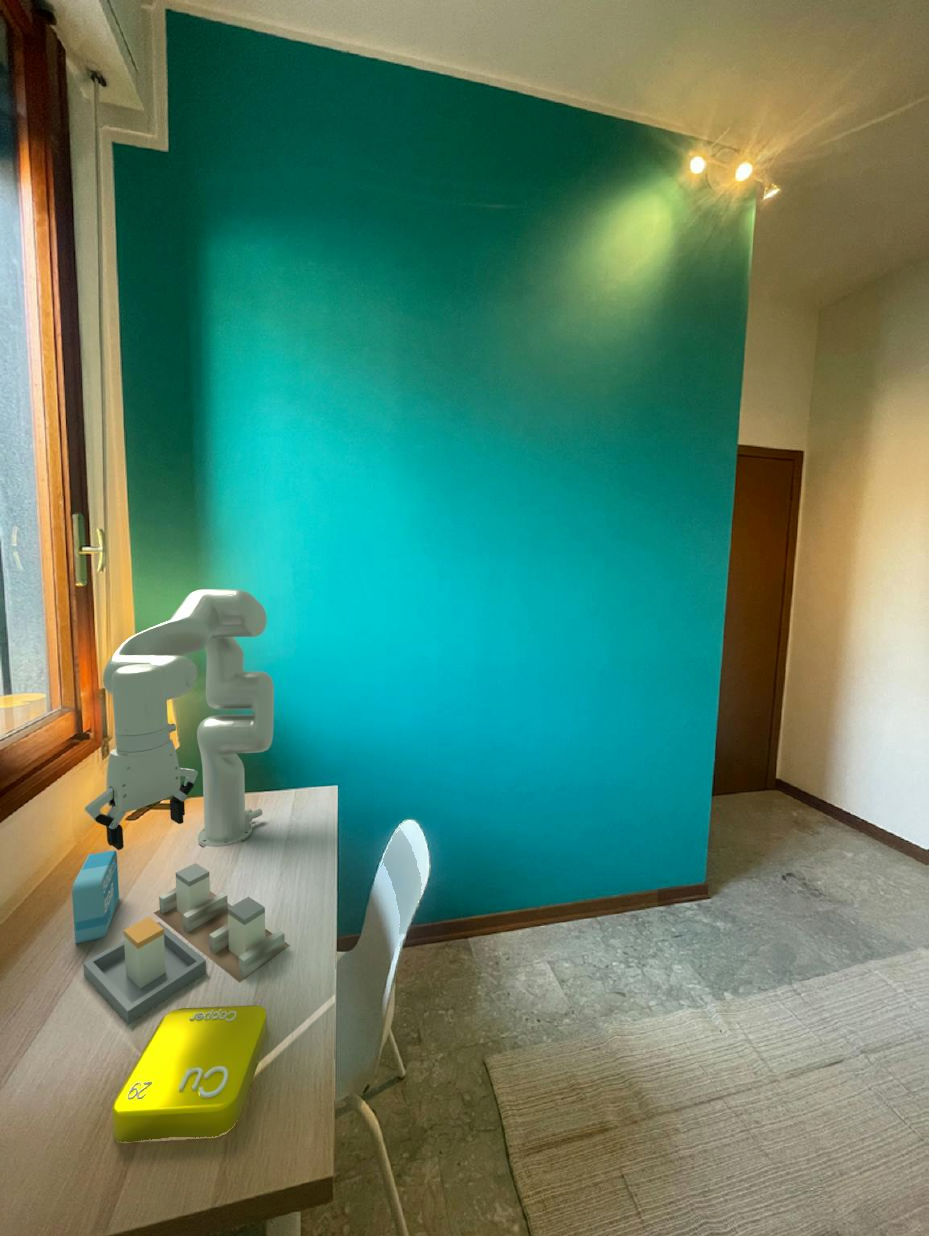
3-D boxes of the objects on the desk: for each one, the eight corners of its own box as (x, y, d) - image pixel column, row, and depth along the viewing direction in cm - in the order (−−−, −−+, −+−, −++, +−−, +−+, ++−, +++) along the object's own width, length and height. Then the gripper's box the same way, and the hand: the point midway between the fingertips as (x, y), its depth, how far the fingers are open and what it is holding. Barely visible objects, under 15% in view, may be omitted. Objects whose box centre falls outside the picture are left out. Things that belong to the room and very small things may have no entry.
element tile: (270, 1029, 77) (270, 1000, 76) (232, 1140, 62) (231, 1106, 62) (168, 1033, 76) (167, 1004, 75) (105, 1148, 61) (103, 1113, 61)
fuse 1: (196, 899, 104) (195, 863, 103) (210, 909, 101) (209, 871, 100) (177, 910, 101) (175, 872, 100) (190, 920, 98) (189, 882, 97)
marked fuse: (151, 959, 88) (149, 916, 87) (165, 972, 85) (163, 928, 85) (125, 974, 85) (123, 930, 84) (140, 988, 82) (137, 943, 81)
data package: (105, 942, 93) (101, 881, 92) (75, 949, 91) (71, 886, 90) (119, 901, 104) (116, 846, 103) (93, 907, 102) (89, 851, 101)
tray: (159, 936, 95) (158, 921, 94) (206, 976, 86) (206, 960, 86) (84, 979, 85) (83, 963, 84) (128, 1029, 76) (127, 1011, 76)
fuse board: (203, 890, 108) (202, 873, 108) (290, 949, 92) (289, 930, 92) (153, 916, 100) (153, 898, 99) (239, 986, 84) (239, 965, 84)
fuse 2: (249, 936, 94) (248, 896, 93) (265, 948, 91) (264, 907, 90) (229, 950, 91) (227, 908, 90) (245, 962, 88) (244, 920, 87)
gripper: (183, 720, 94) (187, 806, 96) (71, 749, 79) (80, 850, 82) (205, 728, 90) (209, 819, 92) (92, 761, 75) (100, 866, 78)
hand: (148, 833), depth 87 cm, fingers open, 9 cm apart
